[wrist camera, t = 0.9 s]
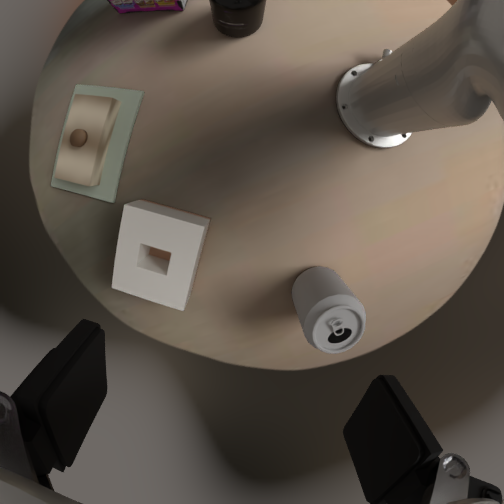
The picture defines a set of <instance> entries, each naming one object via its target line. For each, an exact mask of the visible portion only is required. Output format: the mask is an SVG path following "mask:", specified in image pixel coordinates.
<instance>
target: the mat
mask: <svg viewBox="0 0 504 504" xmlns="http://www.w3.org/2000/svg"><path fill="white" fill-rule="evenodd" d="M144 93H145V92H144V91H138V90H131V89H123V88H114V87H105V86H93V85H78V84H76V87H75V90H74V93H73V96H72V99H71V102H70V105H69V108H68V112H67V115H66V118H65V122H64V126H63V130H62V133H61V137H60V142H59V146H58V150H57V155H56V160H55V165H54V170H53V176H52V181H51V186H53V187H56V188H60V189H64V190H67V191H71V192H75V193H78V194H82V195H86V196H89V197H93V198H96V199H100V200H104V201H107V202H111V203H115V198H116V193H117V189H118V184H119V180H120V175H121V171H122V167H123V163H124V159H125V155H126V151H127V148H128V144H129V140H130V137H131V133H132V130H133V127H134V123H135V120H136V117H137V114H138V111H139V107H140V104H141V102H142V99H143V96H144ZM75 94H82V95H93V96H103V97H111V98H114V99H116V100H118V101H120V102H122V103H121V106H120V109H119V112H118V115H117V118H116V121H115V125H114V128H113V132H112V135H111V139H110V143H109V146H108V150H107V154H106V158H105V163H104V167H103V171H102V176H101V180H100V185H96V186H85V185H82V184H78V183H74V182H70V181H66V180H62V179H58V178H54V176H55V171H56V166H57V161H58V156H59V151H60V147H61V142H62V138H63V134H64V130H65V127H66V123H67V119H68V116H69V112H70V109H71V106H72V103H73V99H74V96H75Z"/></svg>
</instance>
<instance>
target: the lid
mask: <svg viewBox="0 0 504 504" xmlns="http://www.w3.org/2000/svg"><path fill="white" fill-rule="evenodd" d="M121 103H122V102H120V101H118V100H116V99H114V98H111V97H103V96H93V95H82V94H75V96H74V99H73V103H72V106H71V109H70V112H69V116H68V119H67V123H66V127H65V130H64V134H63V138H62V142H61V147H60V151H59V156H58V161H57V166H56V171H55V176H54V178H58V179H62V180H66V181H70V182H74V183H78V184H82V185H85V186H96V185H100V180H101V176H102V171H103V167H104V163H105V158H106V154H107V150H108V146H109V143H110V139H111V135H112V132H113V128H114V125H115V121H116V118H117V115H118V112H119V109H120V106H121Z"/></svg>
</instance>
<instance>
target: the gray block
mask: <svg viewBox="0 0 504 504" xmlns="http://www.w3.org/2000/svg"><path fill="white" fill-rule="evenodd" d="M210 220H211V218H208V217H205V216H201V215H198V214H194V213H191V212H187V211H184V210H180V209H176V208H173V207H169V206H166V205H162V204H158V203H155V202H151V201H148V200H144V199H140V200H137V201H133V202H130V203H127V204H124V209H123V214H122V220H121V225H120V231H119V237H118V243H117V249H116V256H115V263H114V271H113V280H112V288H114V289H117V290H120V291H123V292H125V293H128V294H131V295H134V296H137V297H140V298H143V299H146V300H149V301H153V302H156V303H159V304H162V305H165V306H168V307H172V308H175V309H178V310H182V311H184V309H185V307H186V304H187V302H188V299H189V297H190V295H191V292H192V289H193V285H194V281H195V277H196V273H197V269H198V265H199V261H200V257H201V253H202V249H203V246H204V242H205V238H206V234H207V231H208V227H209V224H210Z"/></svg>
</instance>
